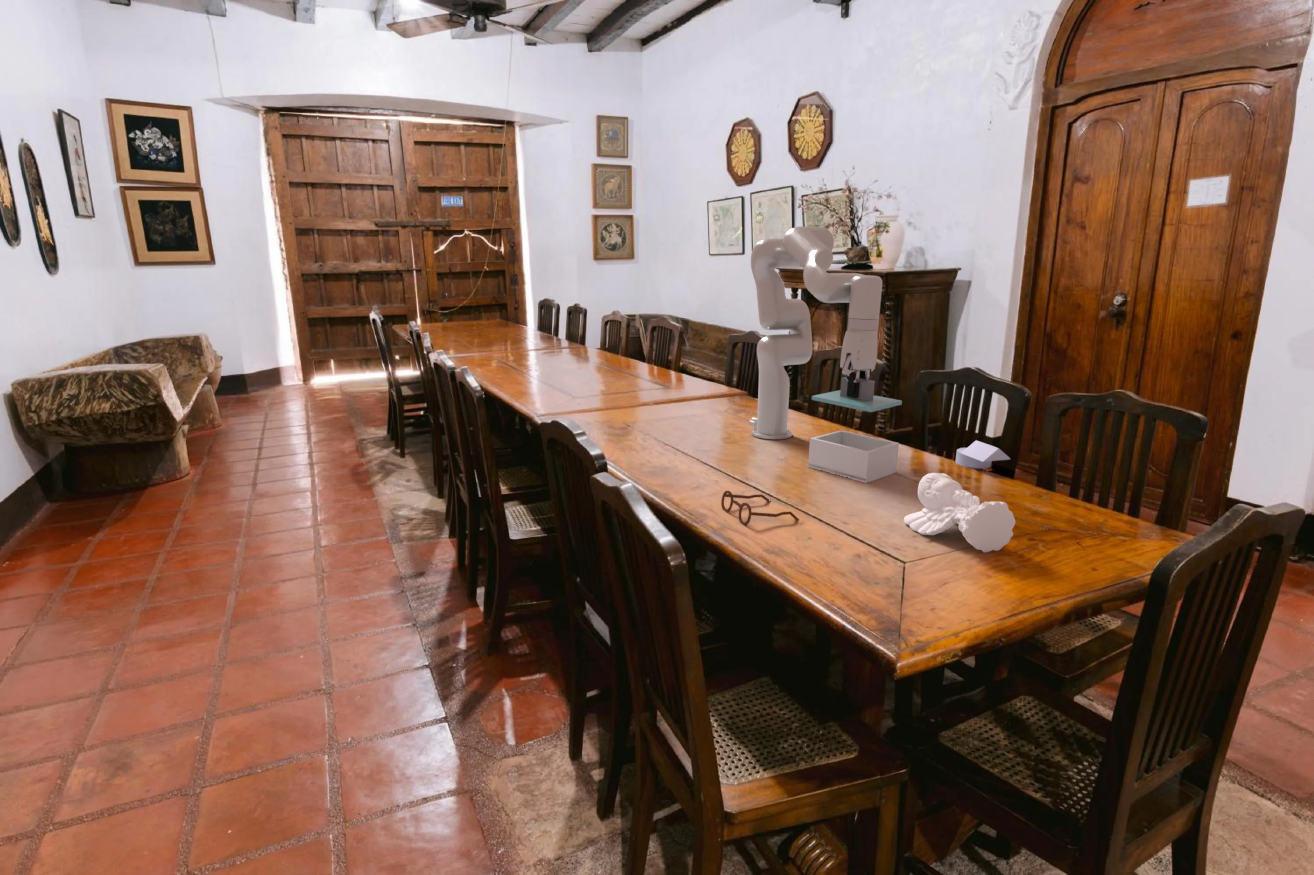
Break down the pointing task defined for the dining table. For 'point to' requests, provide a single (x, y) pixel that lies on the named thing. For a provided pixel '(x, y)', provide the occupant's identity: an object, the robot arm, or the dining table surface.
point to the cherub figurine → (960, 513)
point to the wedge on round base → (979, 455)
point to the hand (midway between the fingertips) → (856, 395)
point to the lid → (864, 400)
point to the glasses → (749, 507)
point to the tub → (853, 455)
